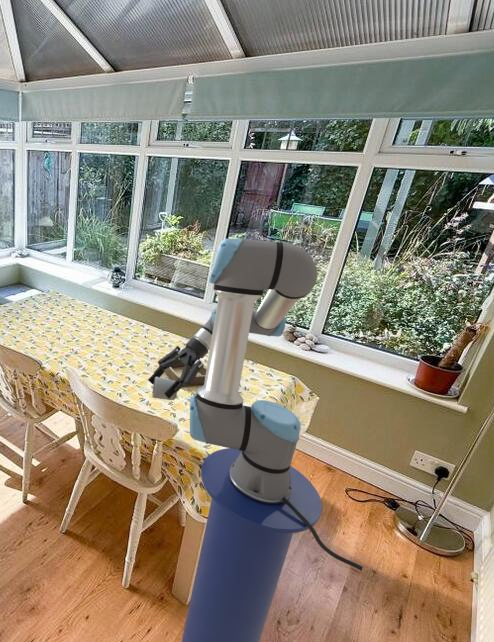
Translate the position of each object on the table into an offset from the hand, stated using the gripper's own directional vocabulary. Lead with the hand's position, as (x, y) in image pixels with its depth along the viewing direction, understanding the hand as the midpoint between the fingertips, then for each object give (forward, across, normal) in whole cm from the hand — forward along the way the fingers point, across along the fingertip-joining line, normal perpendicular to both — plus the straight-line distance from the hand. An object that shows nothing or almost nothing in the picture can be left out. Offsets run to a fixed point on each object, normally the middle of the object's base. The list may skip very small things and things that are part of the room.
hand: (158, 388), depth 147 cm
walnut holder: (-13, +17, -25) cm, 33 cm away
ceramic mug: (+1, +1, -5) cm, 5 cm away
